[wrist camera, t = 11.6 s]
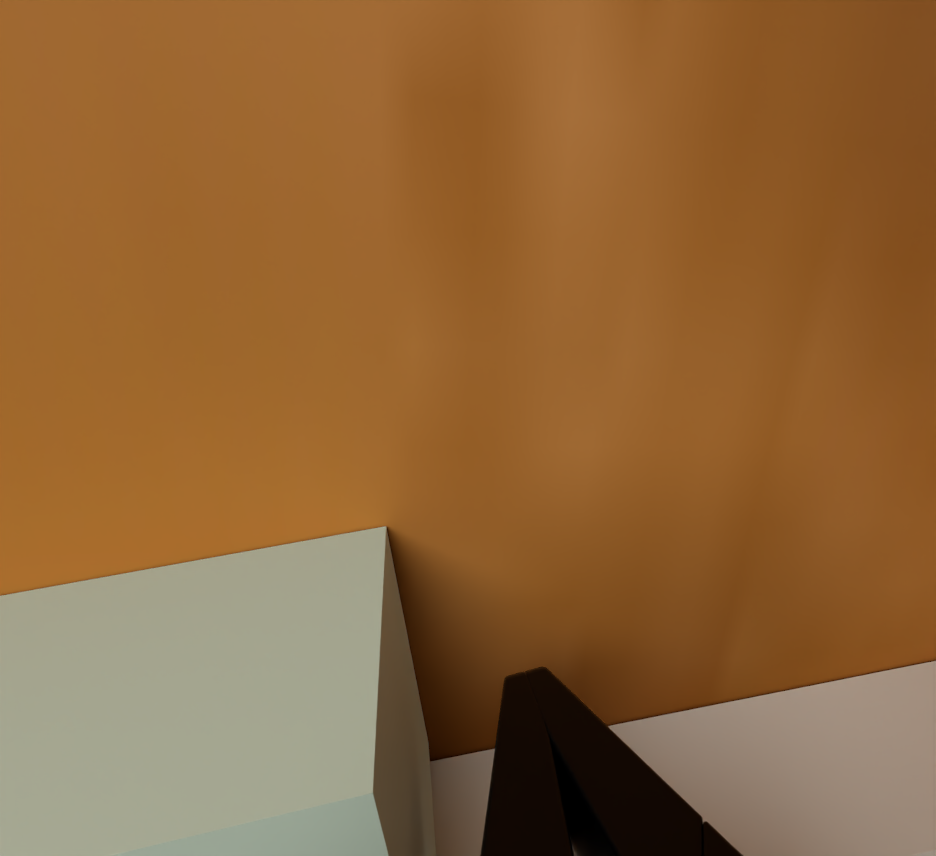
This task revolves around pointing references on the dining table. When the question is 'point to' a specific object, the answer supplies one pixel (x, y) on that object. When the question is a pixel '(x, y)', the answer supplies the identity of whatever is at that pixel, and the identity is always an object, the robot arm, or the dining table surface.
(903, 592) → the dining table surface
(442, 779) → the cleat board
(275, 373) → the dining table surface
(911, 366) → the dining table surface
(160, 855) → the cabinet block
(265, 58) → the dining table surface
